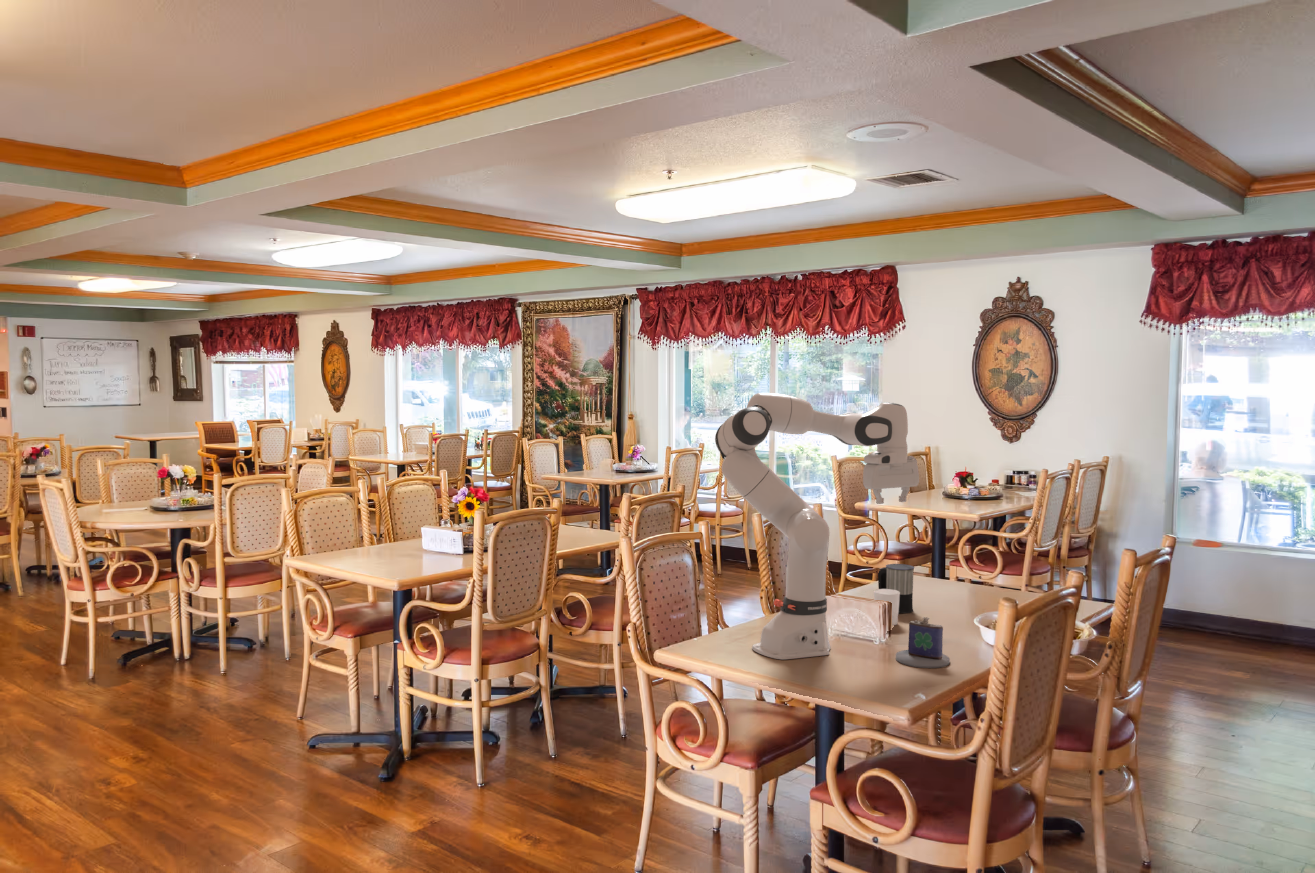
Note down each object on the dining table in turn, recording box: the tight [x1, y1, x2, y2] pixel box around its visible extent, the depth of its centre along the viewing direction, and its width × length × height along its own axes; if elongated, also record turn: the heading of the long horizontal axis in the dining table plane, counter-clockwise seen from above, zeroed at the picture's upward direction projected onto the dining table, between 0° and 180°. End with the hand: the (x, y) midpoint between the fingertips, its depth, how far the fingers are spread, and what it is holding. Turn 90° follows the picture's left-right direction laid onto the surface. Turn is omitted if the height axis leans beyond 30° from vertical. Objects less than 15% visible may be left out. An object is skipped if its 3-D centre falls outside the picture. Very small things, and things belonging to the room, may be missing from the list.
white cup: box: [873, 588, 900, 626], centre depth 288 cm, size 8×8×10 cm
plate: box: [895, 649, 951, 669], centre depth 248 cm, size 14×14×1 cm
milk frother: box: [877, 563, 915, 614], centre depth 304 cm, size 14×16×15 cm
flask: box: [907, 616, 944, 660], centre depth 248 cm, size 9×3×11 cm, turn 54°
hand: (891, 502), depth 275 cm, fingers open, 8 cm apart
